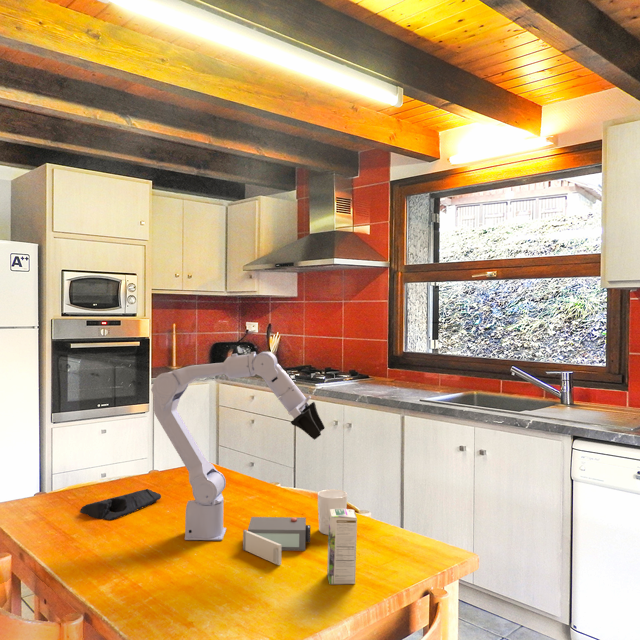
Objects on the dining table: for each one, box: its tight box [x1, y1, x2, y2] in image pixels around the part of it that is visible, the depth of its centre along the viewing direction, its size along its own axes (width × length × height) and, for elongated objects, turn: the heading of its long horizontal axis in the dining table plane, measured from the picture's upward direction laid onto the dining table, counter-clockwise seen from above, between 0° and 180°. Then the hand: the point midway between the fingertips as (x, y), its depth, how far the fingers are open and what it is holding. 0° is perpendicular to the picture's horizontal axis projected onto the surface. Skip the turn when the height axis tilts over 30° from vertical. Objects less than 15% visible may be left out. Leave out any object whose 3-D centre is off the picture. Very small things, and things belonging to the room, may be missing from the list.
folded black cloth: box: [79, 488, 162, 521], centre depth 176 cm, size 15×22×5 cm
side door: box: [242, 529, 282, 566], centre depth 141 cm, size 13×1×5 cm, turn 46°
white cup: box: [317, 488, 348, 536], centre depth 159 cm, size 8×8×10 cm
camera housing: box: [247, 516, 311, 552], centre depth 150 cm, size 15×9×6 cm, turn 91°
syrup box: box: [327, 508, 358, 585], centre depth 130 cm, size 6×6×14 cm
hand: (319, 433), depth 151 cm, fingers open, 7 cm apart
